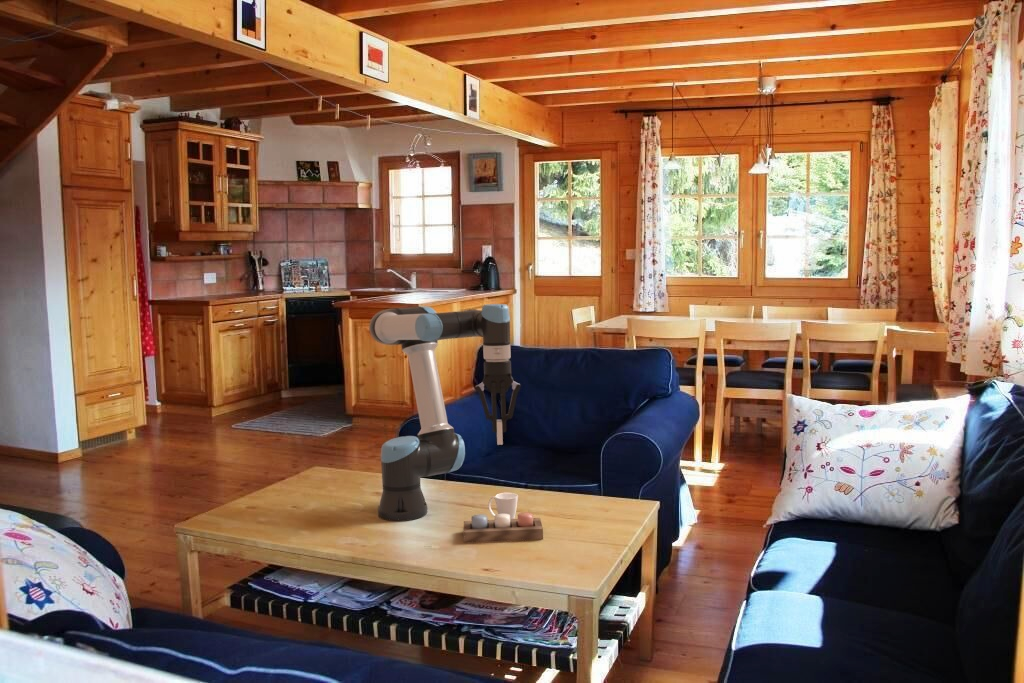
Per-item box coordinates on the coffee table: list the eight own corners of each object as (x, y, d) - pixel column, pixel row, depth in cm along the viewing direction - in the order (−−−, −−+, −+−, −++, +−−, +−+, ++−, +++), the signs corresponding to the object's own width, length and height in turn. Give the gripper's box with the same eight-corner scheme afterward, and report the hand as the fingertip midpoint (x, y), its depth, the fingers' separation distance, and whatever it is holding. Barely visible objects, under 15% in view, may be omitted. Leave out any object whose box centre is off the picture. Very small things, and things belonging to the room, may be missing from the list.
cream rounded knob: (495, 532, 244) (494, 518, 243) (494, 527, 248) (494, 513, 248) (510, 531, 244) (510, 517, 243) (510, 526, 248) (509, 513, 248)
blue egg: (471, 533, 243) (471, 519, 243) (471, 528, 248) (471, 514, 247) (487, 532, 244) (487, 519, 243) (487, 527, 248) (486, 514, 248)
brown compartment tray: (463, 542, 241) (463, 532, 240) (464, 531, 251) (463, 521, 250) (543, 539, 242) (542, 528, 241) (540, 527, 252) (540, 517, 251)
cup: (510, 527, 253) (509, 500, 252) (482, 522, 259) (481, 495, 258) (523, 520, 259) (522, 494, 258) (496, 515, 264) (495, 489, 264)
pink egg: (518, 531, 244) (517, 517, 244) (517, 526, 248) (517, 512, 248) (534, 530, 244) (533, 516, 244) (532, 525, 249) (532, 512, 248)
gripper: (473, 362, 237) (476, 447, 239) (521, 360, 237) (524, 445, 240) (473, 359, 244) (476, 441, 247) (520, 357, 245) (522, 439, 247)
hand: (499, 443), depth 243 cm, fingers closed
